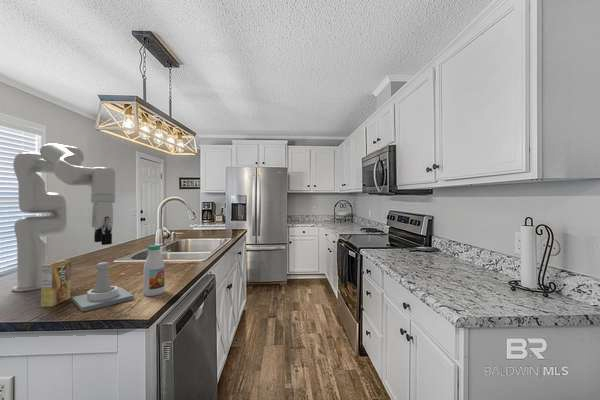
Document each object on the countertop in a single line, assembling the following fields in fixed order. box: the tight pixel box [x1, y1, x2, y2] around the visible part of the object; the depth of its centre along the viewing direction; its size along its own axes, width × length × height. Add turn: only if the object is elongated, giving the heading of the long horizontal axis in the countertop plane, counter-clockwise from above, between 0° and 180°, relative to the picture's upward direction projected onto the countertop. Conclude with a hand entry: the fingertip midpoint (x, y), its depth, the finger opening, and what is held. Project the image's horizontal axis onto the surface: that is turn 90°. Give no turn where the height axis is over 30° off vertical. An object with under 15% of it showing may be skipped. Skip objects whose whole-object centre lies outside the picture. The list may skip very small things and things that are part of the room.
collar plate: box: [71, 285, 134, 313], centre depth 105 cm, size 16×16×4 cm
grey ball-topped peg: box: [93, 261, 112, 293], centre depth 105 cm, size 6×6×13 cm
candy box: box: [40, 259, 72, 308], centre depth 102 cm, size 9×4×15 cm, turn 6°
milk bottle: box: [143, 244, 166, 297], centre depth 112 cm, size 8×8×20 cm
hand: (102, 243), depth 105 cm, fingers open, 9 cm apart
